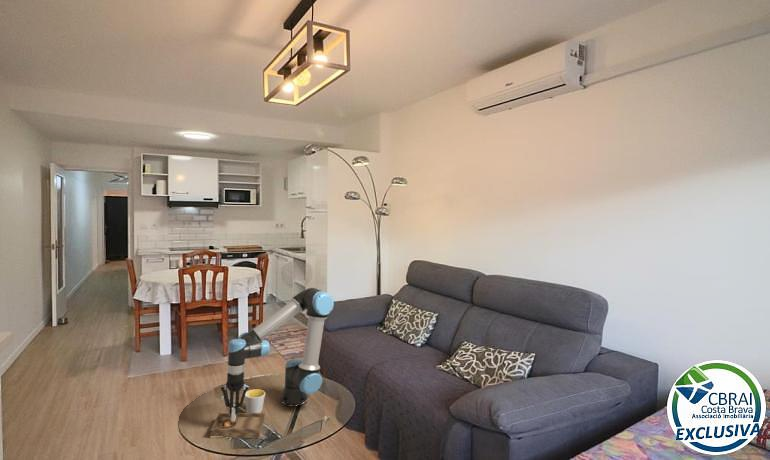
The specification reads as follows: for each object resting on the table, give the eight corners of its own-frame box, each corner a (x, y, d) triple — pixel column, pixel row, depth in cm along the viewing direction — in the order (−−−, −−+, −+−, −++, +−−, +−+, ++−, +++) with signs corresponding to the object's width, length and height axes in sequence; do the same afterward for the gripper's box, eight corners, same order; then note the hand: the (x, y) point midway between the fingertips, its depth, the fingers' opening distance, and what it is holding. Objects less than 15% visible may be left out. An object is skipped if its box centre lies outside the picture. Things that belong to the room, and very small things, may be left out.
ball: (232, 425, 205) (228, 420, 205) (232, 424, 202) (227, 419, 202) (227, 431, 203) (222, 426, 203) (226, 430, 200) (221, 425, 200)
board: (264, 420, 212) (264, 413, 212) (258, 437, 196) (259, 429, 196) (219, 420, 209) (219, 413, 209) (209, 438, 194) (210, 429, 193)
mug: (259, 418, 214) (260, 398, 213) (240, 416, 215) (241, 396, 215) (270, 406, 227) (271, 387, 227) (252, 404, 229) (253, 385, 228)
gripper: (251, 369, 206) (248, 416, 207) (223, 369, 204) (221, 416, 205) (248, 375, 199) (245, 424, 200) (219, 375, 197) (217, 424, 198)
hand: (233, 420), depth 202 cm, fingers closed
